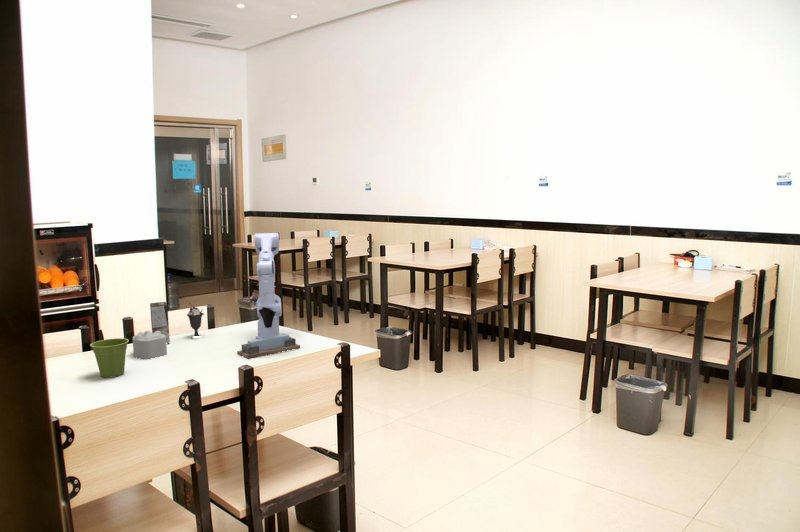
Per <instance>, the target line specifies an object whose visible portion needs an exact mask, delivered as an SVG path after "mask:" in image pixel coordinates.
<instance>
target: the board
mask: <svg viewBox="0 0 800 532" xmlns="http://www.w3.org/2000/svg"><path fill="white" fill-rule="evenodd" d="M297 348H300V349H301V345H300V344H298V343H297V340H296V338H294V337H290V336H289V340H285V346H284V347H279V348H273V349H268V350H263V351H259V346H253V347H249V346H248V343H246V344H245V343H244V344H241V350H237V353H236V354H237V355H238V356H239V357H240V356H241V357H242V356H243V357H242V358H245V359H246V360H247V359H248V360H251V359H255V358H261V357H266V356H270V354H271V355H275V354H274V353H276V354H279V353H278V352H280V353H283V352H282V351H285V352H288V351H287V350H290V351H293V350H292V349H295V350H298V349H297Z"/></svg>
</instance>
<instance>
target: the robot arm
mask: <svg viewBox="0 0 800 532" xmlns="http://www.w3.org/2000/svg"><path fill="white" fill-rule="evenodd" d="M254 247H255V252H256V254H257V255H258V262H256V274H257V280H258V292H259V293H258V296H259V297H258V298H257V301H255V303H256V304H255V306H256V312H257V315H256V316H257V317H258V318H259V319H258V320H257V336H255V338H256V339H261V338H266V337H272V336H277V335H280V317H281V316H282V315H283V314H282V313H283V311H282V310H283V309H282V299H281V297H280V296H279V295H277V294H275V275H276V268H275V267H276V265H275V263H276V262H275V260H274V257H275V255H277V254H279V251H280V234H279V233H278V232H258V233H257V232H256V233H254Z"/></svg>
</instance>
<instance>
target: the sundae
mask: <svg viewBox="0 0 800 532" xmlns="http://www.w3.org/2000/svg"><path fill="white" fill-rule="evenodd" d="M188 304H189V305H190V306H191V307H189V310H188V312H187V314H186V316H187V317H188V319H189V324H190V328H192V329H193V330H194V334H193V336H200V334H199V331H198V330H199V329H200V328H201V327H202V326H201V325H202V317H203V316H204V315H205V314H204V312H203V310H204V309H203V308H202V309H201V310H200V309H199V308H198V307H196V306H194V305H193V304H192V303H191V302H190V303H189V302H188Z"/></svg>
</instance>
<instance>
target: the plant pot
mask: <svg viewBox="0 0 800 532" xmlns="http://www.w3.org/2000/svg"><path fill="white" fill-rule="evenodd" d="M129 340H130V339H128V338H122V337H120V338H119V337H118V338H117V337H116V338H108V339H102V340H97V341H95V342H92V343H90V345H89V346H90V347H91V348H92V352H93V354H94V356H95V360H96V364H97V366H98V370H99V374H100V377H102V378H104V377H105V378H115V377H119V376H120V375H123V374H124V373H125V369H126V368H125V367H126V366H125V365H126V356H127V355H126V354H127V348H128V343H129Z"/></svg>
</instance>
